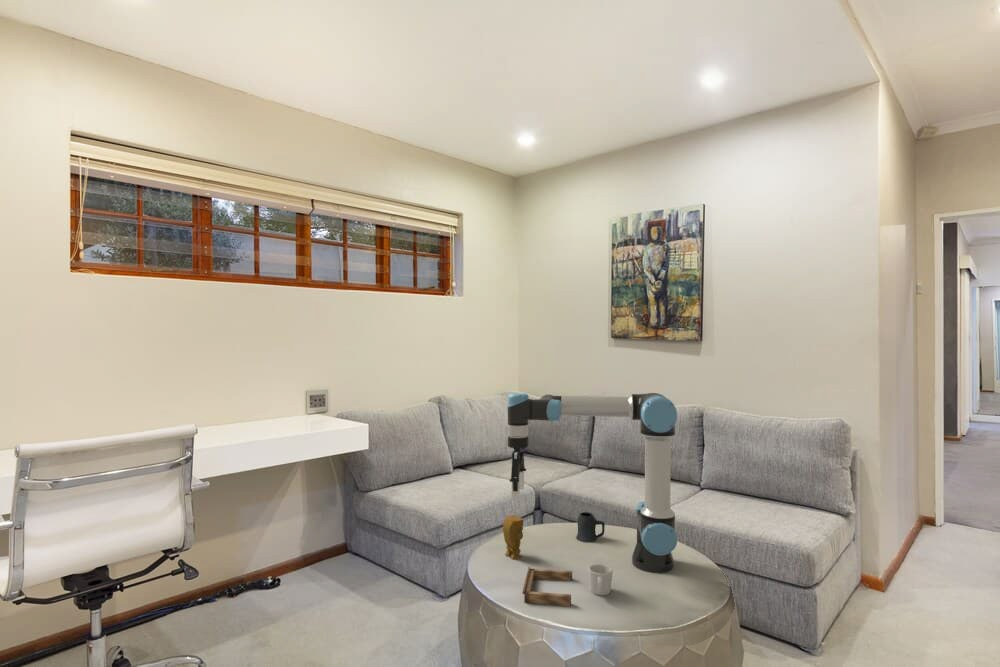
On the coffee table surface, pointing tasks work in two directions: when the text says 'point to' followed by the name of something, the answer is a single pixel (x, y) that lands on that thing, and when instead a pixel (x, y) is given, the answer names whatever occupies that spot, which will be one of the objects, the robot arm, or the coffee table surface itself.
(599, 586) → the cup
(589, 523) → the mug
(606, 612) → the coffee table surface
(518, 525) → the figurine
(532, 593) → the brown wooden open frame
